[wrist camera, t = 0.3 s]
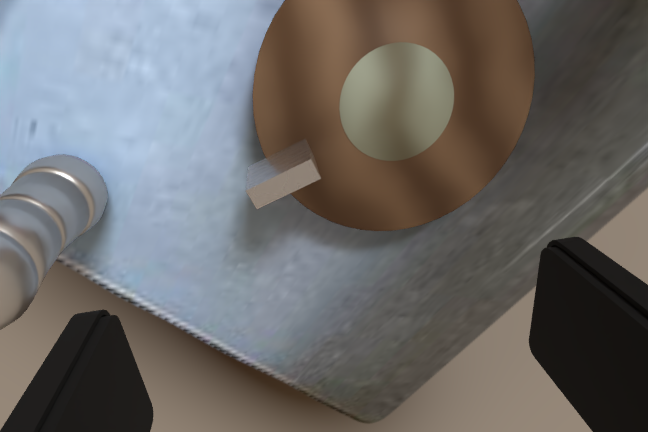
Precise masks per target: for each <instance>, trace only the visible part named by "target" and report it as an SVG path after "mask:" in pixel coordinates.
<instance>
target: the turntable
mask: <svg viewBox="0 0 648 432" xmlns="http://www.w3.org/2000/svg"><path fill="white" fill-rule="evenodd" d="M534 78H535V69H534V52H533V45H532V39H531V35H530V32H529V28H528V25H527V21H526V19H525V17H524V14H523V12H522V10H521V7H520V5H519V3H518V1H517V0H285V1H284V3H283V4H282V5H281V7H280V8H279V10H278V11H277V13H276V14H275V16H274V18H273V20H272V22H271V24H270V26H269V28H268V30H267V32H266V34H265V37H264V40H263V43H262V45H261V48H260V51H259V55H258V60H257V64H256V69H255V74H254V85H253V112H254V119H255V125H256V131H257V135H258V138H259V141H260V144H261V147H262V150H263V153H264V155H265V157H266V158H265V159H263V160H261V161H259V162H257V163H255V164H252V165H250V166H248V175H247V183H246V192H247V194H248V195H249V197H250V199H251V200H252V202H253V204H254V205H255V207H256V209H259V208H261V207H263V206H265V205H267V204H269V203H271V202H273V201H275V200H278V199H280V198H282V197H284V196H286V195H288V194H291V195H292V196H293V197H295V198H296V199H297V200H298V201H299V202H300V203H301V204H302V205H304V206H305V207H307V208H308V209H310V210H311V211H313V212H314V213H316V214H317V215H319V216H321V217H323V218H325V219H327V220H329V221H332V222H335V223H337V224H340V225H343V226H346V227H351V228H356V229H360V230H371V231H392V230H399V229H406V228H411V227H415V226H418V225H422V224H425V223H428V222H430V221H433V220H435V219H438V218H440V217H442V216H444V215H446V214H448V213H450V212H452V211H454V210H455V209H457V208H458V207H460V206H461V205H463V204H464V203H466V202H467V201H469V200H470V199H471V198H472V197H474V196H475V195H476V194H477V193H478V192H480V191H481V190H482V189H483V188H484V187H485V186H486V185H487V184H488V183H489V182H490V181H491V180H492V179H493V177H494V176H495V175H496V174H497V172H498V171H499V170H500V169H501V167H502V166H503V165H504V164H505V162H506V160H507V159H508V157H509V156H510V154H511V152H512V151H513V149H514V148H515V145H516V143H517V141H518V139H519V137H520V135H521V133H522V131H523V128H524V125H525V122H526V119H527V117H528V114H529V109H530V105H531V101H532V96H533V87H534Z"/></svg>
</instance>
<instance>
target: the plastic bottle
mask: <svg viewBox="0 0 648 432" xmlns="http://www.w3.org/2000/svg"><path fill="white" fill-rule="evenodd" d="M107 199H108V192H107V187H106V184H105V182H104V179H103V178H102V176H101V175H100V173H99V172H98V171H97V170H96V169H95V168H94V167H93V166H92V165H91V164H89V163H88V162H86V161H84V160H82V159H80V158H78V157H75V156H71V155H64V154H62V155H53V156H48V157H45V158H41V159H38V160H36V161H34V162H32V163H31V164H29V165H28V166H27V167H26V168H25V169H24V170H23V171H22V172H21V173H20V174H19V175H18V176H17V178H16V179H15V180H14V182H13V183H12V185H11V186H10V187H9V188H8V189H7V190H5V191H4V192H3V193H2V194H1V195H0V330H1V329H3V328H4V327H6V326H8V325H9V324H11V323H12V322H14V321H15V320H17V319H18V318H19V317H21V316H22V314H23V313H24V312H25V311H26V310H27V308H28V307H29V305H30V304H31V302H32V301H33V299H34V297H35V295H36V293H37V291H38V289H39V287H40V285H41V283H42V282H43V280H44V278H45V276H46V274H47V272H48V270H49V269H50V267H51V266H52V265H53V263H54V262H55V261H56V259H57V257H58V256H59V255H60V254H61V252H62V251H63V250H64V249H65V248H66V247H67V246H68V245H69V244H70V243H71V242H72V241H74V240H75V239H76V238H77V237H79V236H80V235H82V234H83V233H85V232H86V231H88V230H89V229H90V228H91V227H93V226H94V225H95V224H96V223H97V222H98V221H99V220H100V218H101V216H102V214H103V212H104V209H105V206H106V203H107Z"/></svg>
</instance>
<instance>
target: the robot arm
mask: <svg viewBox="0 0 648 432" xmlns="http://www.w3.org/2000/svg"><path fill="white" fill-rule="evenodd" d="M529 346H530V350H531V352H532V354H533V356H534V357H535V359H536V360H537V361H538V362H539V364H540V365H541V366H542V367H543V368H544V370H545V371H546V373H547V374H548V375H549V376H550V378H551V379H552V380H553V381H554V383H555V384H556V385H557V387H558V388H559V389H560V390H561V392H562V393H563V394H564V396H565V397H566V398H567V399H568V401H569V402H570V403H571V404H572V406H573V407H574V408H575V409H576V411H577V412H578V413H579V415H580V416H581V417H582V418H583V420H584V421H585V422H586V424H587V425H588V426H589V427H590V429H591V430H592V431H593V432H648V285H647V284H646V283H644V282H643V281H641V280H640V279H639V278H637V277H636V276H634V275H633V274H631V273H630V272H629V271H627V270H626V269H625V268H623V267H622V266H620V265H619V264H617V263H616V262H615V261H613V260H612V259H610V258H609V257H607V256H606V255H605V254H603V253H602V252H600V251H599V250H598V249H596V248H595V247H593V246H592V245H590V244H589V243H588V242H586V241H585V240H584V239H582V238H580V237H571V238H565V239H558V240H552V241H551V242H549V244H548V245H547V248H544V249H543V250H542V252H541V256H540V263H539V270H538V278H537V285H536V292H535V300H534V307H533V314H532V322H531V329H530V336H529ZM152 422H153V407H152V403H151V401H150V398H149V395H148V393H147V390H146V388H145V385H144V382H143V380H142V377H141V375H140V372H139V370H138V367H137V364H136V362H135V359H134V356H133V354H132V351H131V348H130V346H129V343H128V341H127V338H126V335H125V333H124V330H123V327H122V325H121V322H120V320H119V318H118V317H117V316H116V315H111V316H110V314H109V313H108V312H107V310H98V311H92V312H85V313H79V314H75V315H74V316H73V317H72V318H71V319H70V321H69V323H68V324H67V326H66V327H65V329H64V331H63V332H62V334H61V335H60V337H59V339H58V340H57V342H56V343H55V345H54V346H53V348H52V350H51V351H50V353H49V354H48V356H47V357H46V359H45V361H44V362H43V364H42V366H41V367H40V369H39V370H38V372H37V373H36V375H35V376H34V378H33V380H32V381H31V383H30V384H29V386H28V388H27V389H26V391H25V392H24V395H23V396H22V397H21V399H20V400H19V402H18V403H17V405H16V407H15V408H14V410H13V411H12V413H11V415H10V416H9V418H8V419H7V421H6V422H5V424H4V426H3V427H2V429H1V430H0V432H150V430H151V426H152Z"/></svg>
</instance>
